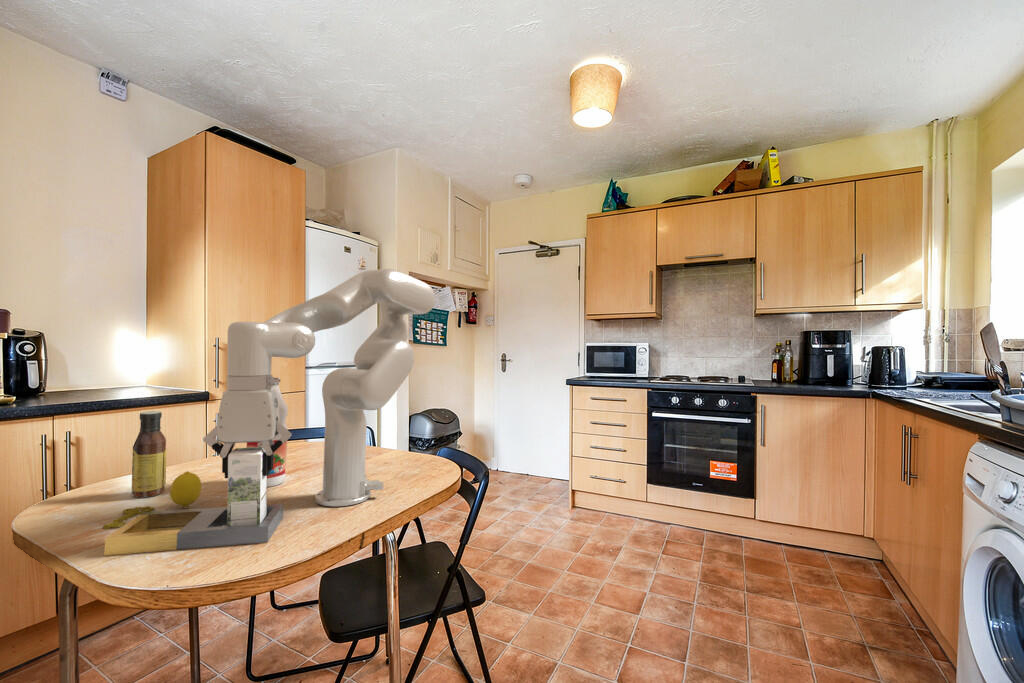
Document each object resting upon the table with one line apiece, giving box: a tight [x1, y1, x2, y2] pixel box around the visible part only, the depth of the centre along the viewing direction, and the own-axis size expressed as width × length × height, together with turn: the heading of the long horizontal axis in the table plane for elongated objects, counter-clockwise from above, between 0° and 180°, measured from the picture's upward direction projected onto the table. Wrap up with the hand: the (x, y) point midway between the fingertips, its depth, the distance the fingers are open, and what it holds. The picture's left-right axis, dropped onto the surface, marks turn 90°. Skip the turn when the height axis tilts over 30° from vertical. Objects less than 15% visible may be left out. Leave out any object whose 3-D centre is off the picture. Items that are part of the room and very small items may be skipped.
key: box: [102, 505, 155, 530], centre depth 90 cm, size 12×1×5 cm
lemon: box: [169, 471, 202, 508], centre depth 96 cm, size 6×6×8 cm
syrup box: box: [226, 447, 267, 526], centre depth 85 cm, size 6×6×14 cm
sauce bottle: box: [131, 410, 167, 498], centre depth 103 cm, size 6×6×20 cm
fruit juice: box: [246, 376, 289, 488], centre depth 115 cm, size 9×9×28 cm
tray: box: [103, 503, 284, 557], centre depth 83 cm, size 25×12×3 cm, turn 106°
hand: (248, 474), depth 85 cm, fingers closed on syrup box, 5 cm apart
